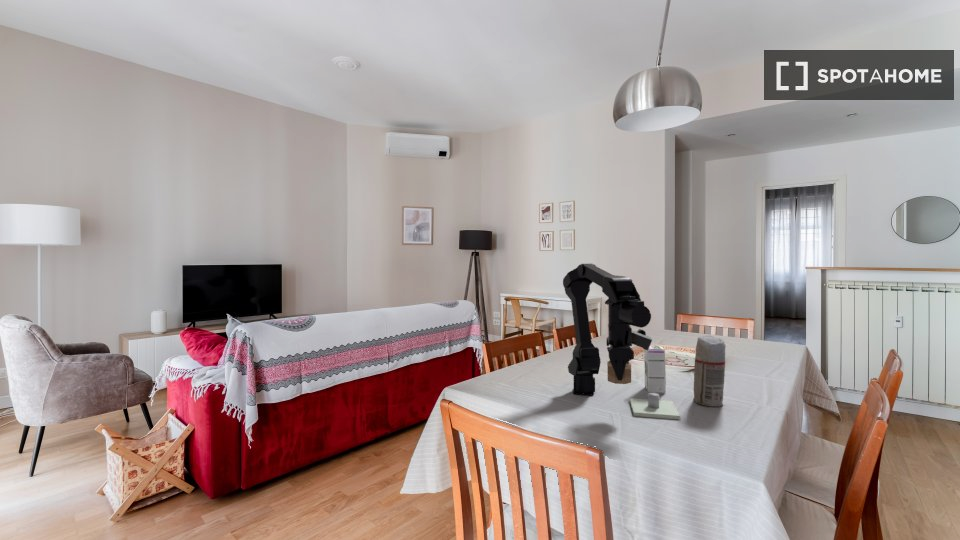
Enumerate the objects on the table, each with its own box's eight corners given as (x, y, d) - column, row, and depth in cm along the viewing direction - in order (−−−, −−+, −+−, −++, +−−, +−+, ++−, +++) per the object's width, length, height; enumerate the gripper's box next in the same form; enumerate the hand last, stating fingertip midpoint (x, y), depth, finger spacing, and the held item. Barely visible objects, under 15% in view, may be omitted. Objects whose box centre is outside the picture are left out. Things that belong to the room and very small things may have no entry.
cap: (607, 383, 117) (607, 363, 117) (606, 376, 123) (606, 357, 123) (632, 384, 115) (632, 364, 115) (630, 378, 121) (630, 358, 121)
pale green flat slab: (633, 415, 119) (633, 399, 118) (629, 401, 130) (629, 386, 130) (680, 419, 116) (680, 403, 115) (672, 404, 127) (672, 389, 127)
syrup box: (666, 393, 137) (666, 349, 137) (647, 392, 138) (647, 348, 138) (662, 388, 143) (662, 345, 142) (643, 387, 144) (643, 344, 143)
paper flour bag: (721, 399, 131) (722, 335, 130) (727, 408, 123) (728, 340, 122) (691, 397, 134) (691, 334, 133) (695, 405, 126) (695, 339, 125)
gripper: (654, 328, 108) (654, 389, 108) (645, 317, 126) (645, 369, 126) (609, 327, 110) (609, 386, 111) (606, 316, 128) (606, 367, 129)
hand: (619, 376), depth 119 cm, fingers closed on cap, 6 cm apart
